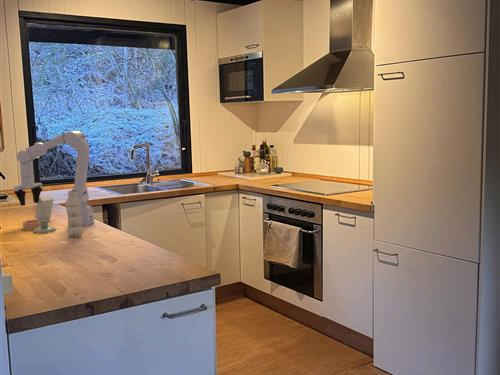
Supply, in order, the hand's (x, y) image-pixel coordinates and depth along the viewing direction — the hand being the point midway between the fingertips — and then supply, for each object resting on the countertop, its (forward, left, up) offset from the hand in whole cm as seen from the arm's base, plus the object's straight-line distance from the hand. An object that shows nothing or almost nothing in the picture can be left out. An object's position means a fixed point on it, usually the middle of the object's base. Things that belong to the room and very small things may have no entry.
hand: (29, 204), depth 249 cm
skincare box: (0, -9, -9) cm, 13 cm away
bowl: (-7, +9, -10) cm, 15 cm away
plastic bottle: (-35, +21, -10) cm, 42 cm away
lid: (-16, +14, -9) cm, 23 cm away
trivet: (-16, +14, -10) cm, 23 cm away
